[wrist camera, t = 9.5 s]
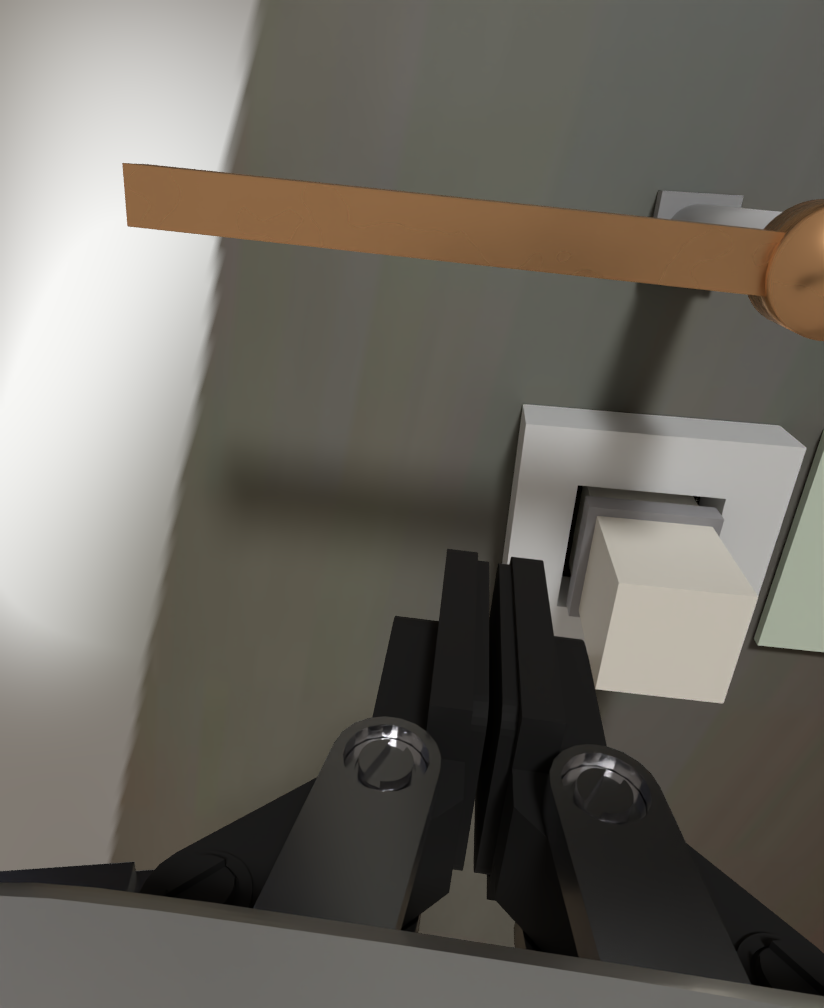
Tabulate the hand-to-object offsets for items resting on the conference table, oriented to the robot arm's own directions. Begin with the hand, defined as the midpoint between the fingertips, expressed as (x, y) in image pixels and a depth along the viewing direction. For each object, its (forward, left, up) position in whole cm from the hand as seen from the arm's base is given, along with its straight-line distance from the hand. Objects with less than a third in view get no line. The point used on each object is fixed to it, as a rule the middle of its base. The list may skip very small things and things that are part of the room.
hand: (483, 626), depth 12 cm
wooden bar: (0, -6, -10) cm, 12 cm away
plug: (-8, +8, -22) cm, 25 cm away
